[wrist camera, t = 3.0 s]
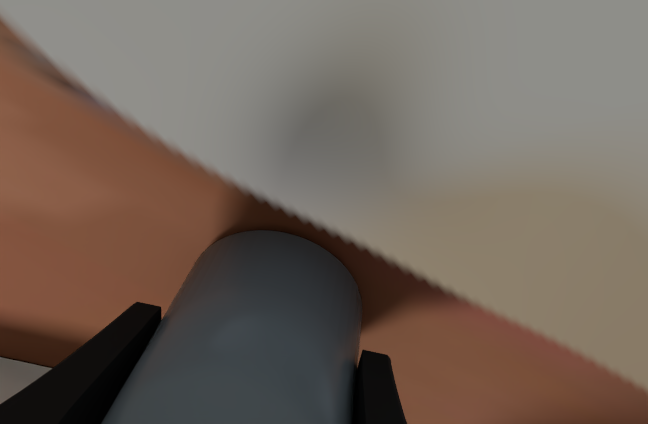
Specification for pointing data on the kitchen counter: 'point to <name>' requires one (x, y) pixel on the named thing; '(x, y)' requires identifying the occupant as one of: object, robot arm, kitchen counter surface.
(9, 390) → the tray
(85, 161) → the kitchen counter surface
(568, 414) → the kitchen counter surface
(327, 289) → the tumbler
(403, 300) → the kitchen counter surface
